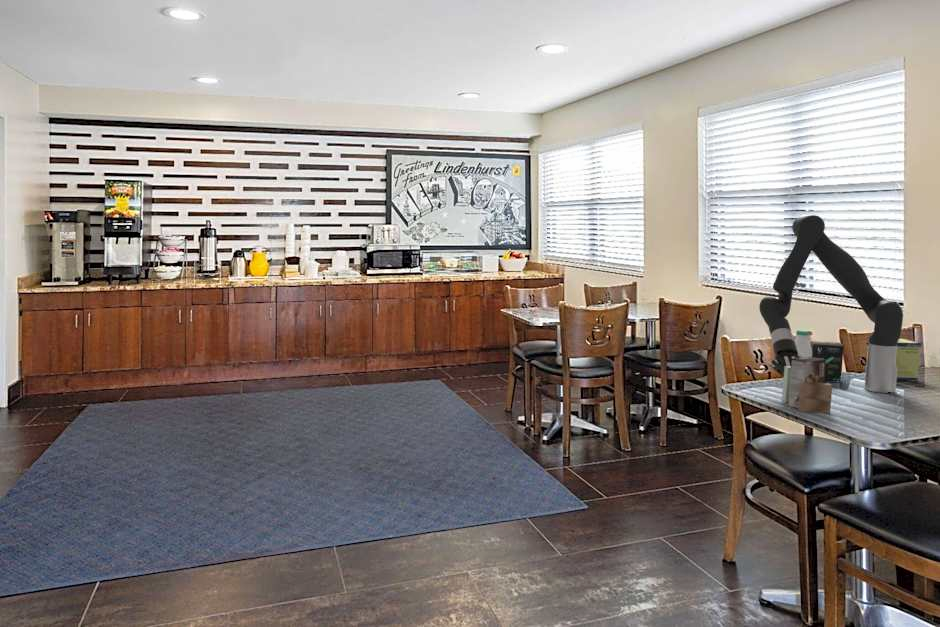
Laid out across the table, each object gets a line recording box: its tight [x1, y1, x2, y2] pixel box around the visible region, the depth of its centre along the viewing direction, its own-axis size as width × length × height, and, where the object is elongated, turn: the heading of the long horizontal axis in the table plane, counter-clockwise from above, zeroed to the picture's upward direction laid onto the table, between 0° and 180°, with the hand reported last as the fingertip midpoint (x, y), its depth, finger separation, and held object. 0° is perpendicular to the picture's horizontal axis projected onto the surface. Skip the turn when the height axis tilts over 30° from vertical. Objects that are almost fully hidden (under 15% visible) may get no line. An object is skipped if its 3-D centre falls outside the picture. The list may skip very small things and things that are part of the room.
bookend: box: [781, 366, 791, 403], centre depth 244 cm, size 8×3×12 cm, turn 87°
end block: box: [797, 382, 833, 413], centre depth 232 cm, size 9×3×9 cm, turn 87°
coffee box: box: [787, 357, 826, 409], centre depth 238 cm, size 9×6×16 cm
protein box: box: [895, 338, 922, 381], centre depth 289 cm, size 10×16×16 cm
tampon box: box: [810, 340, 844, 383], centre depth 284 cm, size 11×9×15 cm
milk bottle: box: [795, 329, 812, 358], centre depth 278 cm, size 8×8×20 cm
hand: (794, 385), depth 246 cm, fingers closed
